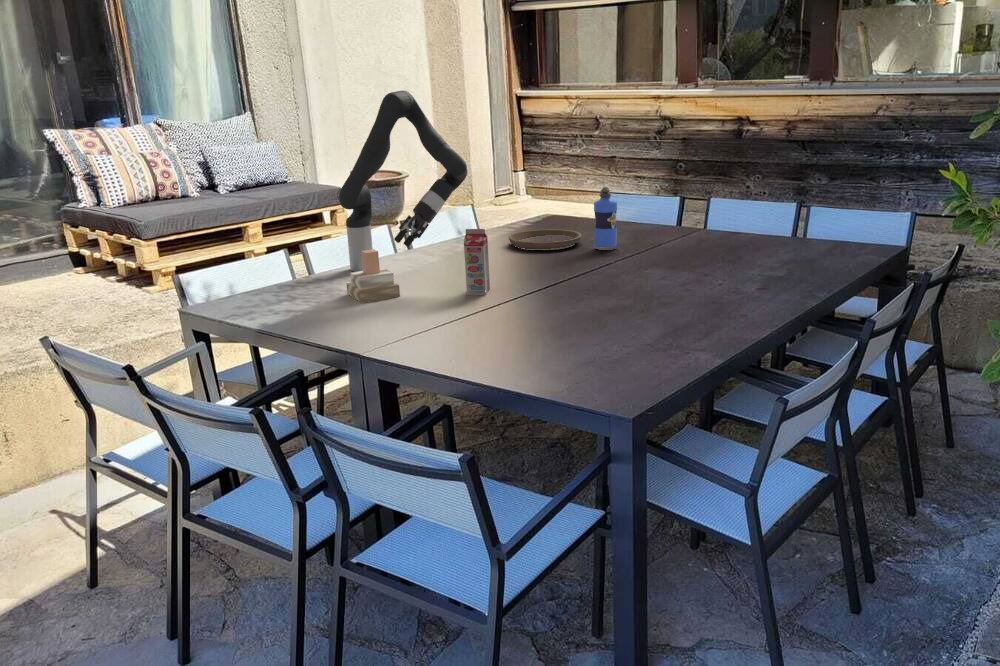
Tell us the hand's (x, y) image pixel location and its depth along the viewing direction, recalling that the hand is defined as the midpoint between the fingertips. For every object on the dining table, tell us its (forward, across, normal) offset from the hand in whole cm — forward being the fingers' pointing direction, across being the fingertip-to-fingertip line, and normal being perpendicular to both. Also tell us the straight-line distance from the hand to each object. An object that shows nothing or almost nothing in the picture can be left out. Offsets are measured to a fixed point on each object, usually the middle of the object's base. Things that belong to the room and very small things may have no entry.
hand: (400, 243), depth 303 cm
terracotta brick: (+14, 0, -2) cm, 14 cm away
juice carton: (-2, +19, +26) cm, 32 cm away
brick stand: (+20, 0, +4) cm, 20 cm away
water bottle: (-55, -12, +79) cm, 97 cm away
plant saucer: (-44, -35, +68) cm, 89 cm away
